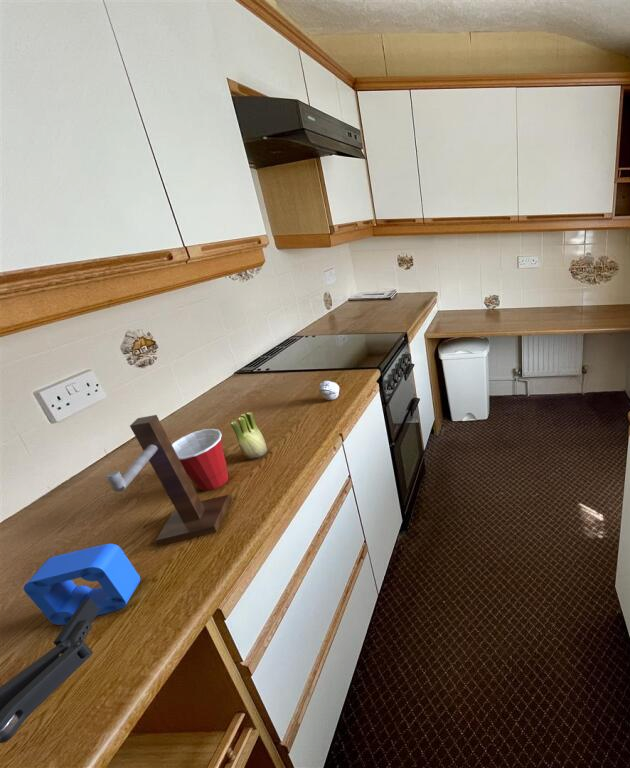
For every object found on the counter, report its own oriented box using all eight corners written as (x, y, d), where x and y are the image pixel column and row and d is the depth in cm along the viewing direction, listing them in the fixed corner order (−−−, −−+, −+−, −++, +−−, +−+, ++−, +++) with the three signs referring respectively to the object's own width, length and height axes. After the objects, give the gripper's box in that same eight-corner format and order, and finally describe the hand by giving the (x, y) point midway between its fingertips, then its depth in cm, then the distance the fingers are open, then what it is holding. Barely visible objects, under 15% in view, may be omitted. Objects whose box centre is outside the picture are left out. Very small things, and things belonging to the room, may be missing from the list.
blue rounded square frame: (129, 607, 68) (99, 564, 63) (55, 627, 65) (18, 585, 61) (143, 582, 72) (116, 541, 68) (74, 600, 69) (41, 559, 65)
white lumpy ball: (318, 405, 130) (311, 385, 127) (328, 395, 137) (322, 376, 133) (336, 404, 130) (330, 385, 127) (345, 394, 136) (340, 375, 133)
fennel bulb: (248, 464, 103) (230, 424, 98) (242, 457, 106) (225, 417, 101) (272, 453, 106) (256, 414, 101) (266, 447, 110) (250, 408, 104)
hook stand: (201, 565, 74) (139, 454, 64) (137, 582, 72) (60, 470, 61) (230, 499, 91) (185, 402, 80) (179, 511, 88) (124, 413, 77)
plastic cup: (174, 497, 93) (150, 454, 88) (213, 468, 102) (193, 427, 97) (214, 501, 91) (192, 457, 86) (250, 470, 100) (232, 429, 95)
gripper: (-283, 905, 37) (-66, 669, 55) (57, 783, 43) (150, 608, 61) (-366, 873, 33) (-106, 634, 52) (15, 747, 40) (126, 574, 58)
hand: (33, 620), depth 57 cm, fingers open, 13 cm apart
